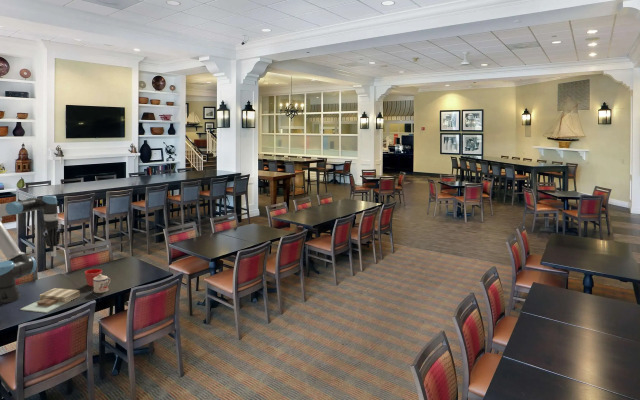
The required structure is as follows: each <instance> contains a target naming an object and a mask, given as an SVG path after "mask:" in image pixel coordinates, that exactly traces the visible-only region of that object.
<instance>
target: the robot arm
mask: <svg viewBox="0 0 640 400" xmlns="http://www.w3.org/2000/svg"><path fill="white" fill-rule="evenodd" d="M57 199H58V198H57V196H56V195H50V194H49V195H43V196H42V198H37V197H28V198H26V199H24V200H17V201H16V200H15V201H11V202H6V203H0V251H1V252H2V254H3V255H4V257H5V258H6V260H2V261H0V304H1V305H2V304H9V303H11V302H14V301H18V300H19V299H20V298H21V292H20V291H19V288H18V287H17V283H16V280H19V279H21V278H24V277H26V276H29V275H31V274H33V273H34V272H35V271H36V270H37V265H38V264H37V261H36V259H35V258H34V257H33V256H30V255H27V253H26V252H23V251H21V250H20V248H19V246H18V245H17V243H16V242H15V240H14V239H13V237H12V236H11V233H9V231H8V229H7V228H6V226H5V225H4V224H3V222H2V221H3V217H7V216H13V215H14V216H15V215H21V214H24V213H29V212H34V211H43V212H42V213H43V221H44V222H43V224H44V227H45V229H44V230H45V231H44V232H42V233H41V235H42V236H43V238H44V242H45V245H46V247H49V252H50V256H51V257H56V256H57V250H58V247H57V246H59V244H60V239H61V232H62V228H59V226H60V225H59V214H58V213H59V212H58V200H57Z"/></svg>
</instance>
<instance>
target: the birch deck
mask: <svg viewBox="0 0 640 400" xmlns="http://www.w3.org/2000/svg"><path fill="white" fill-rule="evenodd" d="M80 296H81V294H80V290H78V289H70V288H69V289H68V288H59V287H58V288H57V287H54V288H52V289H50V290H47V291H45V292H43V293H41V294H39V300H43V299H45V298H53V299H58V302H63V303H65V304H64V305H66V304H68V303H69V302H71V300H72V301H73V299H74V300H76V299H77V298H79V297H80Z"/></svg>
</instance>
